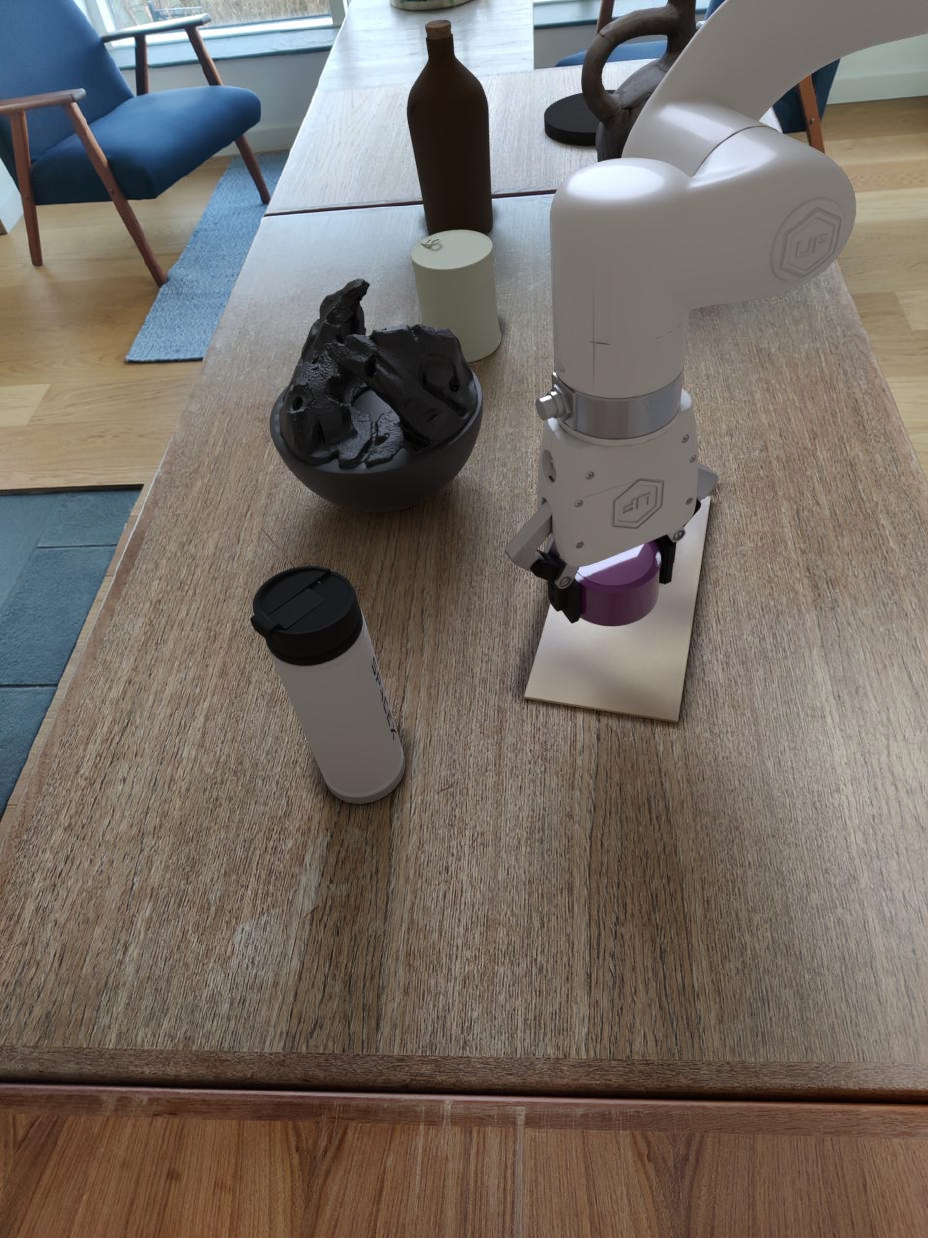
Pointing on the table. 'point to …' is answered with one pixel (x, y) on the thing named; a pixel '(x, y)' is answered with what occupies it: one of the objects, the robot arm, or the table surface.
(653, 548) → the purple short cylinder
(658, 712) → the beige metallic rectangular plate
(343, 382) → the coal bowl
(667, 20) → the vessel
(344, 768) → the travel mug
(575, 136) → the wireless charger
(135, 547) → the table surface
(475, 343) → the can
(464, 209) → the olive oil
